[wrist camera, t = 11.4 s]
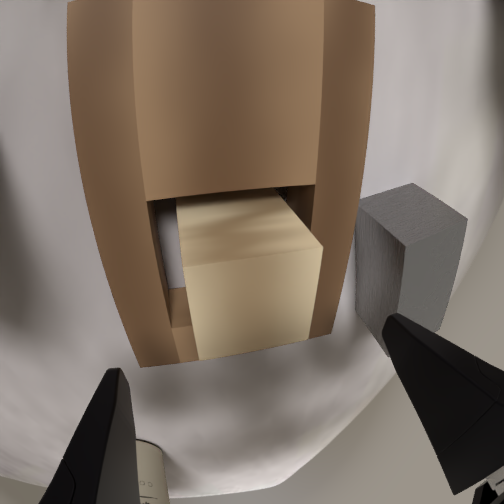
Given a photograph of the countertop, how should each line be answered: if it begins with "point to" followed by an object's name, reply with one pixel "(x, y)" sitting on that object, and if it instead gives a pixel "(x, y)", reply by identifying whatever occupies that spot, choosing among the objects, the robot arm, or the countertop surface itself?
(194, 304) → the square bit
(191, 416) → the countertop surface
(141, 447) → the travel mug
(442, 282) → the grey rectangular block
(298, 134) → the socket block
